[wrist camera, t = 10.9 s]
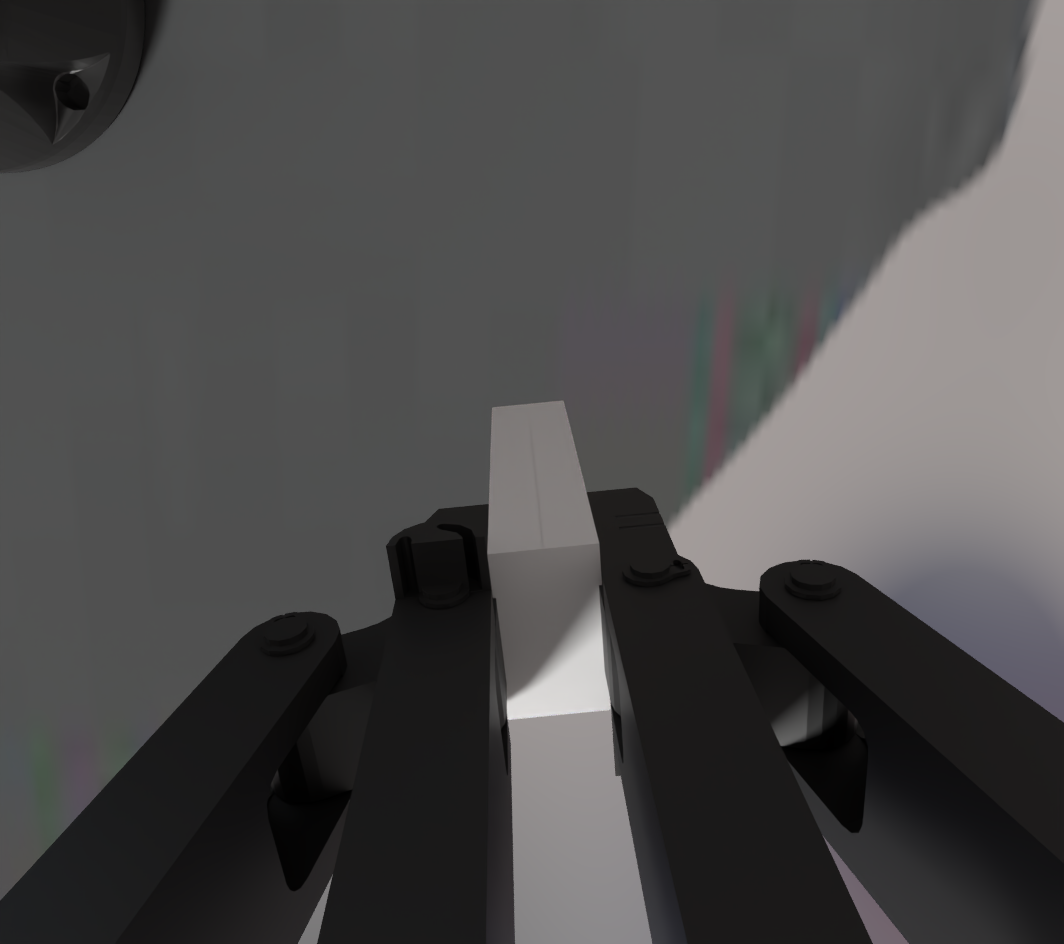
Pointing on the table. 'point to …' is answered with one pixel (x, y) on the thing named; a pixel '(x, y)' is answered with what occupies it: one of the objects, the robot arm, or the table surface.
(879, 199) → the table surface
